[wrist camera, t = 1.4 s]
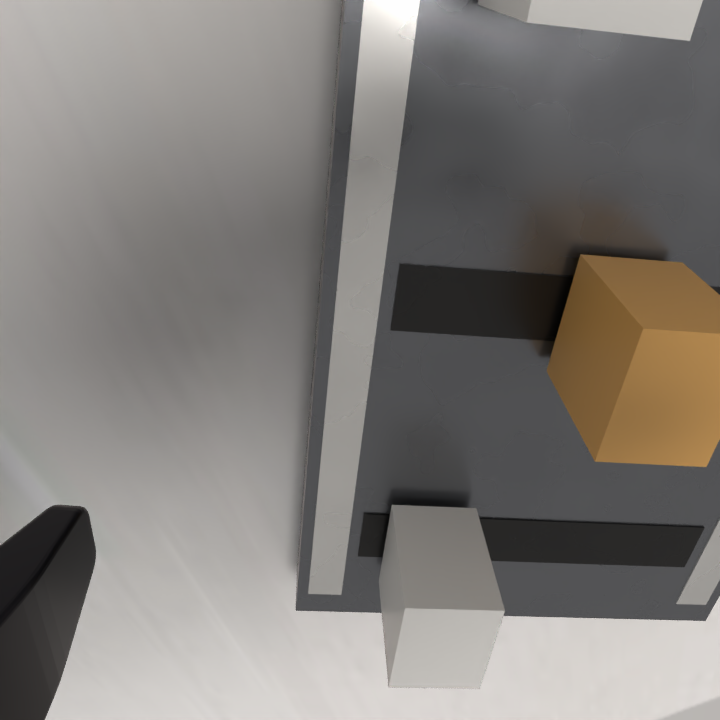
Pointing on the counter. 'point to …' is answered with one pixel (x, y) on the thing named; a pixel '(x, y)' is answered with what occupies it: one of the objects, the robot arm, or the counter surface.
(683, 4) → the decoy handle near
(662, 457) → the orange block
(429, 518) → the grey small block
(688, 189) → the panel
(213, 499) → the counter surface
